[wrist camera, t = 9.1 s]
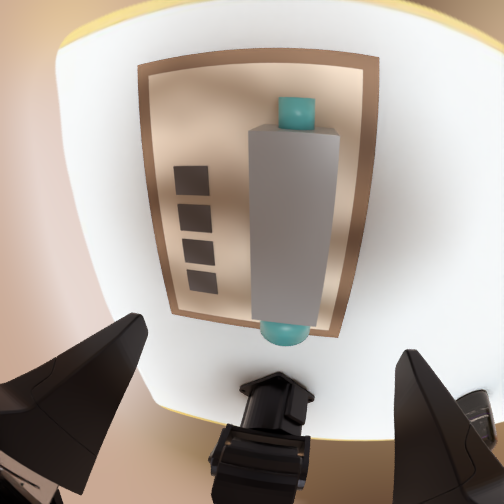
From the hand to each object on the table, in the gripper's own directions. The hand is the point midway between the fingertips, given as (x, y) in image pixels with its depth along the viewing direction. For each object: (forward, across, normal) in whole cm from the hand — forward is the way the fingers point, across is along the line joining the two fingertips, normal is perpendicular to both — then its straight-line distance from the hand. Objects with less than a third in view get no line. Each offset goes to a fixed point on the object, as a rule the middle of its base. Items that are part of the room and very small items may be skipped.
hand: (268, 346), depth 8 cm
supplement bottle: (+12, -28, +25) cm, 39 cm away
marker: (+10, 0, 0) cm, 11 cm away
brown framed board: (+12, +3, 0) cm, 12 cm away
